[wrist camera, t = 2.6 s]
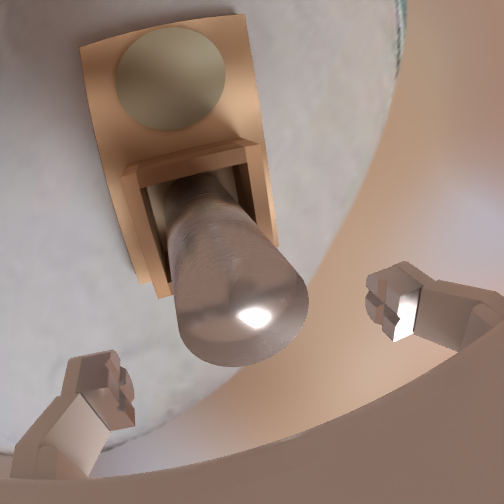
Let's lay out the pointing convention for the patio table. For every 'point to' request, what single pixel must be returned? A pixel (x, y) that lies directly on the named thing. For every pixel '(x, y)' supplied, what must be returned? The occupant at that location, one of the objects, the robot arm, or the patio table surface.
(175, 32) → the pocket board
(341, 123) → the patio table surface
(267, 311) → the peg
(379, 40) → the patio table surface
